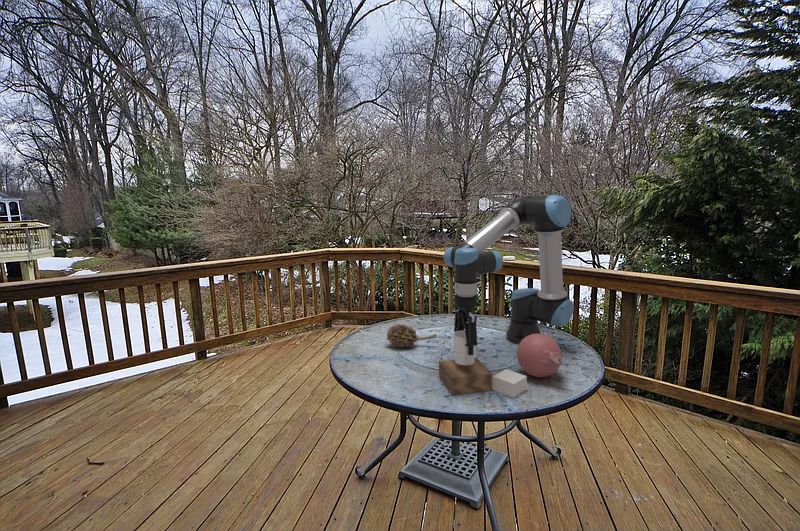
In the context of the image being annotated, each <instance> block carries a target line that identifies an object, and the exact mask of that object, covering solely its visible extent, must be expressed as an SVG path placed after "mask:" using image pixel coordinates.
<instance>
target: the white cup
mask: <svg viewBox="0 0 800 531" xmlns="http://www.w3.org/2000/svg"><path fill="white" fill-rule="evenodd" d="M452 335H453V354H454V360H455V362H456V363H457V364H460V365H472V364H473V363H471V364H465V344H467V342H466V335H465V329H464V330H462V331H456V332H454V331H453V334H452ZM476 350H477V345H476V346H474V358H475V357H476Z"/></svg>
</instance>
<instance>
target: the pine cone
mask: <svg viewBox="0 0 800 531" xmlns="http://www.w3.org/2000/svg"><path fill="white" fill-rule="evenodd" d="M436 338H437V333H434V334H432V335H427V336H420V337H419V336H418V335H417V332H416V329H414V328H412V327H411V326H409V327H408V326H407V325H405V324H395V325H392V326H391V327H389V328H388V331H387V333H386V339H387V341H389V343H390V344H392V345H394V346H395V347H399V348H405V347H406V348H409V347H410V348H412V347H413V346H414V345H415V344H416V342H419V341H425V340H432V339H436Z"/></svg>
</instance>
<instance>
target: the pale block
mask: <svg viewBox="0 0 800 531" xmlns="http://www.w3.org/2000/svg"><path fill="white" fill-rule="evenodd" d="M527 379H528V376H527V375H524V374H522V373H519V372H516V371H513V370H511V369H508V368H507V369H506V368H505V369H504V370H502V371H499V372H498V373H496V374H495V375H492V390H494V392H498V393H500V394H502V395H505V396H508V397H511V398H516V397H517V396H519V395H520V394H522V393H523V392H525V391H526V390H527V383H528V382H527Z"/></svg>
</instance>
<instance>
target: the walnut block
mask: <svg viewBox="0 0 800 531" xmlns="http://www.w3.org/2000/svg"><path fill="white" fill-rule="evenodd" d="M439 377H440V378H441V379H440V378H439ZM438 378H439V379H440V380H441V382H442V381H443V382H442V384H444V386H445V387H446V389H447V390H448V391H449V393H450V394H451V395H452V396H456V395H457V396H458V395H464V394H466V395H467V394H470V393H471V394H472V393H479V392H480V393H481V392H487V391H488V392H489V391H492V390H493V373H492V372H491V371H490V370H489V368H487V367H486V366H485V365H484V364H483V363H482V362H481V361H480V360H479V359H478V358H476V356H475V358H474V363H473V364H472V365H460V364H457V363H456V362H455V359H449V360H440V361H438Z"/></svg>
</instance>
